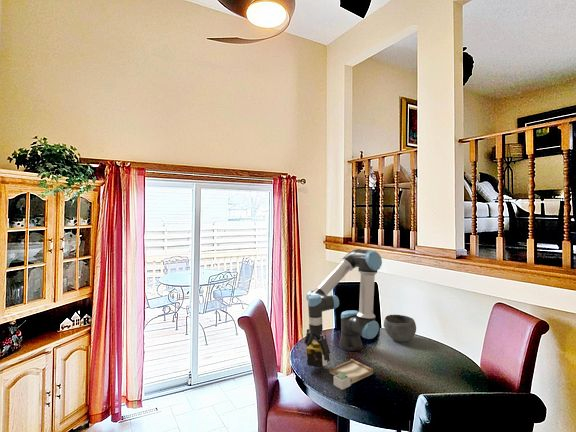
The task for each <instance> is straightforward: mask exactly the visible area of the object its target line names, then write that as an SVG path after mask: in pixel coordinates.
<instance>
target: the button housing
mask: <svg viewBox="0 0 576 432" xmlns="http://www.w3.org/2000/svg"><path fill="white" fill-rule="evenodd" d="M333 386H335V388H338V389H339V390H341V391H342V390H345V389H347V388H349V387H351V384H350V377H349V376H347V375H345V379H343V380H341V379H340V378H338V374H337V375H333Z"/></svg>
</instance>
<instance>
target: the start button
mask: <svg viewBox="0 0 576 432" xmlns="http://www.w3.org/2000/svg"><path fill="white" fill-rule="evenodd" d="M338 378H340V379H341V380H343V379H345V373H339V374H338Z"/></svg>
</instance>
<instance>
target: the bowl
mask: <svg viewBox="0 0 576 432" xmlns="http://www.w3.org/2000/svg"><path fill="white" fill-rule="evenodd" d="M383 327H384V330H385V332H386V334H387V335H388V337H390V338H391V339H393V340H394V341H395V342H398V343H406V342H407V343H408V342H409V341H411V340H412V339H413V338H414V337H415V336H416V333H417V324H416V322H415V319H414V318H413V317H410V316H407V315H402V314H388V315H386V316H385V318H384V320H383Z"/></svg>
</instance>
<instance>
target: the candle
mask: <svg viewBox="0 0 576 432" xmlns="http://www.w3.org/2000/svg"><path fill="white" fill-rule="evenodd" d="M328 347H329V343H328ZM305 351H306V363H307V364H306V365H307V366H308V367H309V366H310V367H314V368H319V369H320V368H321V369H325V367H326V366H323V360H322V354H323V352H322V350H321V347H320V345H319V343H318V342H317V341H312V343H311V344H310V345H309V346H308V347H307V346H306V349H305ZM327 356H328V359H327V363H329V362H330V354H327Z"/></svg>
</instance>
